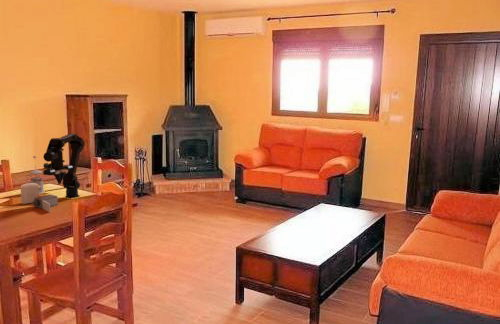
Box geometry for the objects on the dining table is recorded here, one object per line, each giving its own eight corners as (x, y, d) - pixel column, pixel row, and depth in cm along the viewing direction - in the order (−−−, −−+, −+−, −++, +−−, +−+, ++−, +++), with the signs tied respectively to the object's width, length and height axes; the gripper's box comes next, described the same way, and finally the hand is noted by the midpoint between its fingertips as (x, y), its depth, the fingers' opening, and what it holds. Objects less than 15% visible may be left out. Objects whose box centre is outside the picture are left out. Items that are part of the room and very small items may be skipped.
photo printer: (39, 200, 271) (38, 181, 268) (40, 202, 267) (39, 182, 265) (21, 203, 265) (19, 183, 263) (22, 204, 262) (20, 184, 259)
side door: (50, 212, 247) (50, 203, 246) (47, 212, 246) (47, 203, 245) (44, 208, 254) (43, 199, 253) (41, 208, 253) (40, 200, 252)
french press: (41, 194, 286) (38, 157, 282) (23, 194, 286) (20, 157, 282) (48, 190, 296) (45, 154, 291) (31, 190, 296) (28, 154, 292)
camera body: (49, 202, 266) (49, 193, 265) (58, 204, 262) (57, 195, 261) (32, 207, 256) (31, 197, 255) (40, 209, 252) (39, 199, 251)
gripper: (59, 155, 273) (60, 179, 276) (35, 160, 256) (37, 185, 259) (73, 156, 270) (74, 181, 272) (49, 161, 252) (51, 187, 255)
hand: (59, 183), depth 265 cm, fingers closed
